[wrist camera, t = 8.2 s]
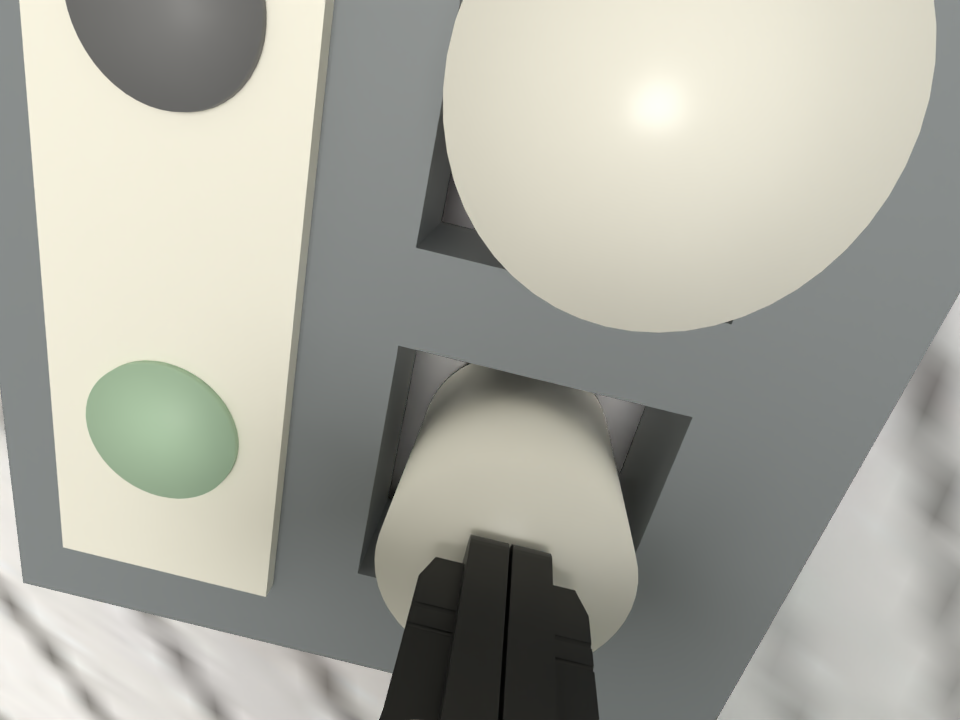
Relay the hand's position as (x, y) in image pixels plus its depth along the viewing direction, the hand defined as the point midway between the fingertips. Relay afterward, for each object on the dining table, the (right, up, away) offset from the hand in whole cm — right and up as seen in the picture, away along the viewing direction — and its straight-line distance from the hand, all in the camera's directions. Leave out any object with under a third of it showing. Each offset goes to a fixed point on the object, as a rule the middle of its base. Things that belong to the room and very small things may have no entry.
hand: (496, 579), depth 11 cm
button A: (+1, +2, +5) cm, 5 cm away
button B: (+2, +8, 0) cm, 9 cm away
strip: (-5, +10, -1) cm, 11 cm away
